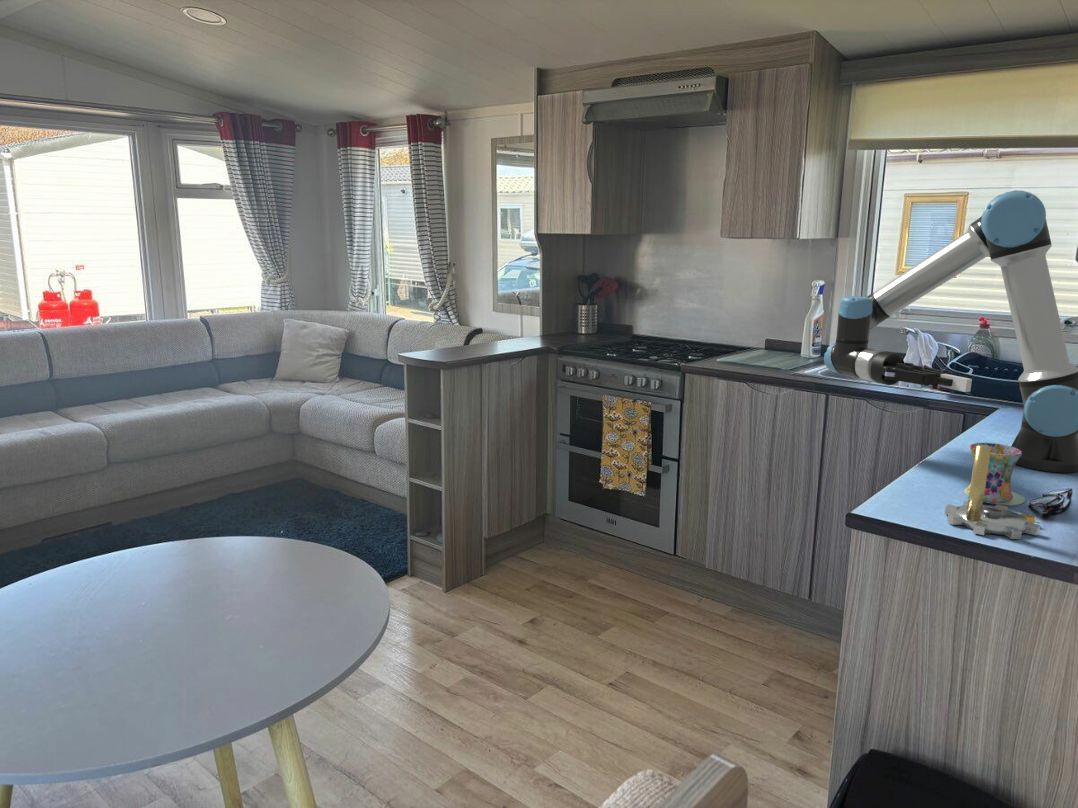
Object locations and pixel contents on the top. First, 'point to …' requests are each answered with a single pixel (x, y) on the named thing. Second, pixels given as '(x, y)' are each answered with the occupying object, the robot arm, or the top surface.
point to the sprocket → (988, 507)
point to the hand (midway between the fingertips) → (968, 385)
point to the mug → (998, 471)
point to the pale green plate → (1015, 501)
